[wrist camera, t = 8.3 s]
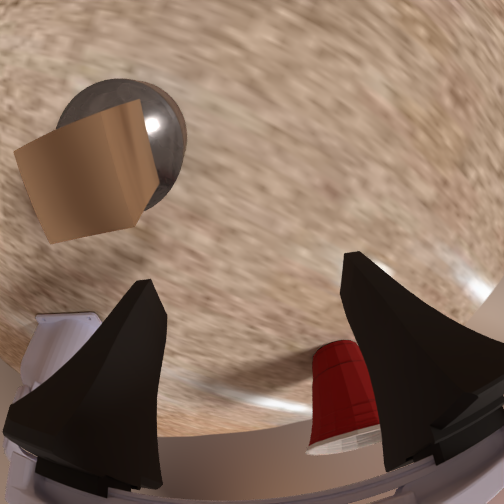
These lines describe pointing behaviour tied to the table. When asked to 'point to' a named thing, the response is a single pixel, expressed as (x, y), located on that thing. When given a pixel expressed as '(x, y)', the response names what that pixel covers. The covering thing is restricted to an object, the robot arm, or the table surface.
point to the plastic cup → (342, 401)
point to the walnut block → (90, 174)
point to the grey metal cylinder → (155, 116)
